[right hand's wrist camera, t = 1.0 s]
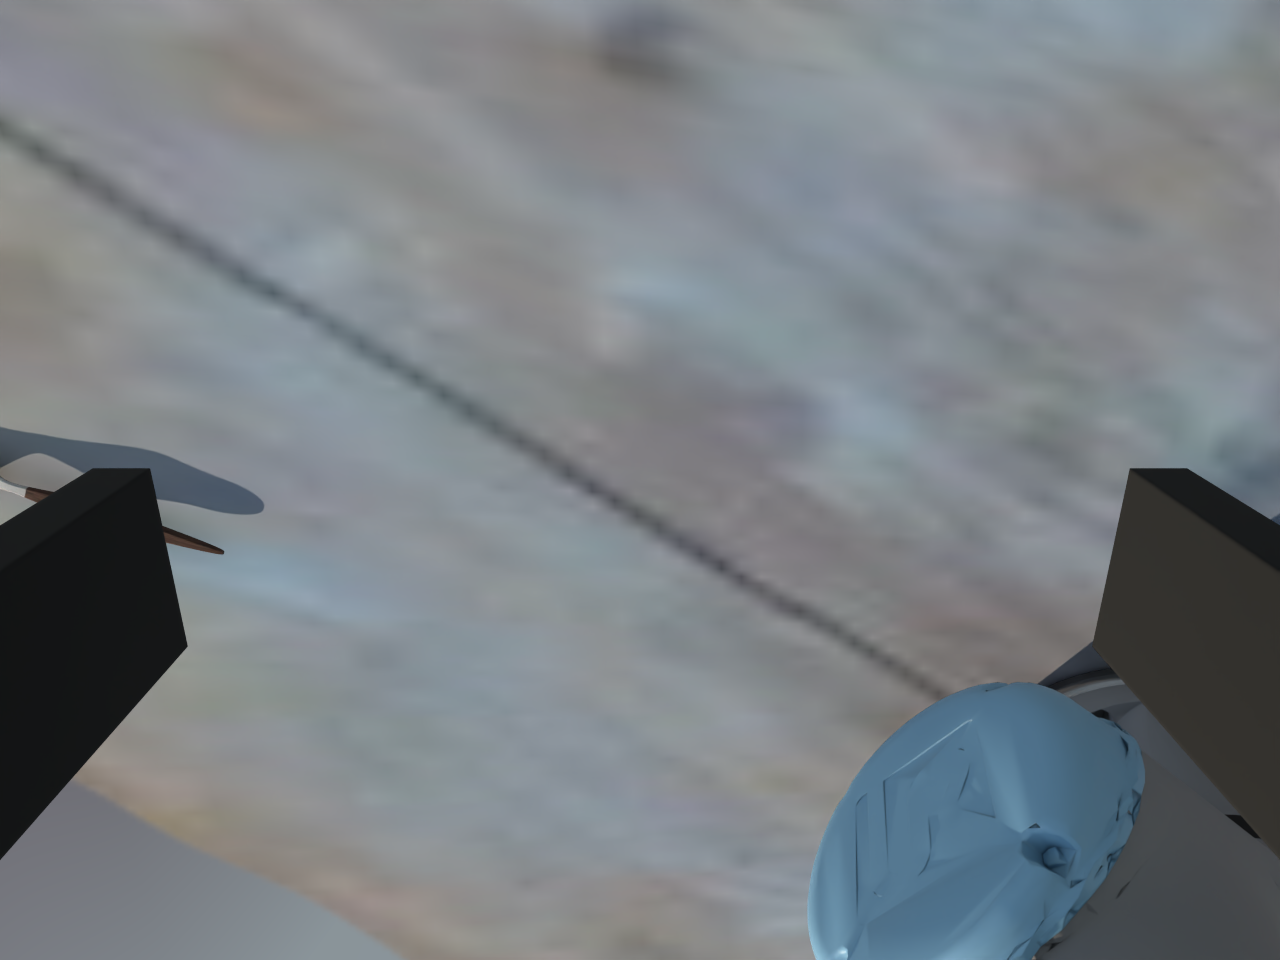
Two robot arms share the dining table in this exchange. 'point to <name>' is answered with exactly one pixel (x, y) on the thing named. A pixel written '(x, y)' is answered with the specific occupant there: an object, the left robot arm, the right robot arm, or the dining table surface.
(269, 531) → the dining table surface
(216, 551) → the fork
